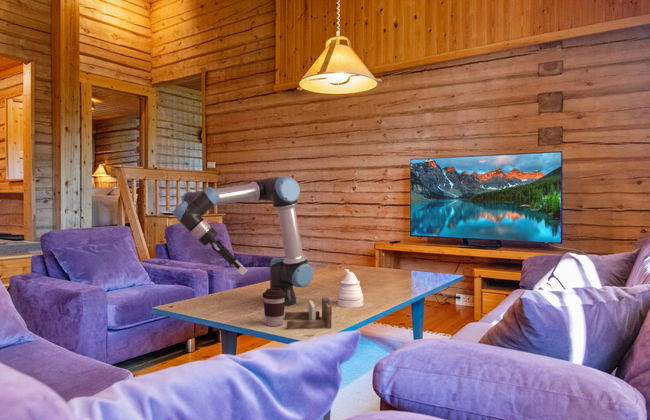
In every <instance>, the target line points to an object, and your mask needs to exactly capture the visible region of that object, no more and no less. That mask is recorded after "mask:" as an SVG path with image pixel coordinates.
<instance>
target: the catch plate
mask: <svg viewBox="0 0 650 420" xmlns="http://www.w3.org/2000/svg"><path fill="white" fill-rule="evenodd" d="M316 311H317V309H316V305H315V303H314V301H313V300H311V299H309V300H308V312H309V319H308V320H317V319H316Z"/></svg>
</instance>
